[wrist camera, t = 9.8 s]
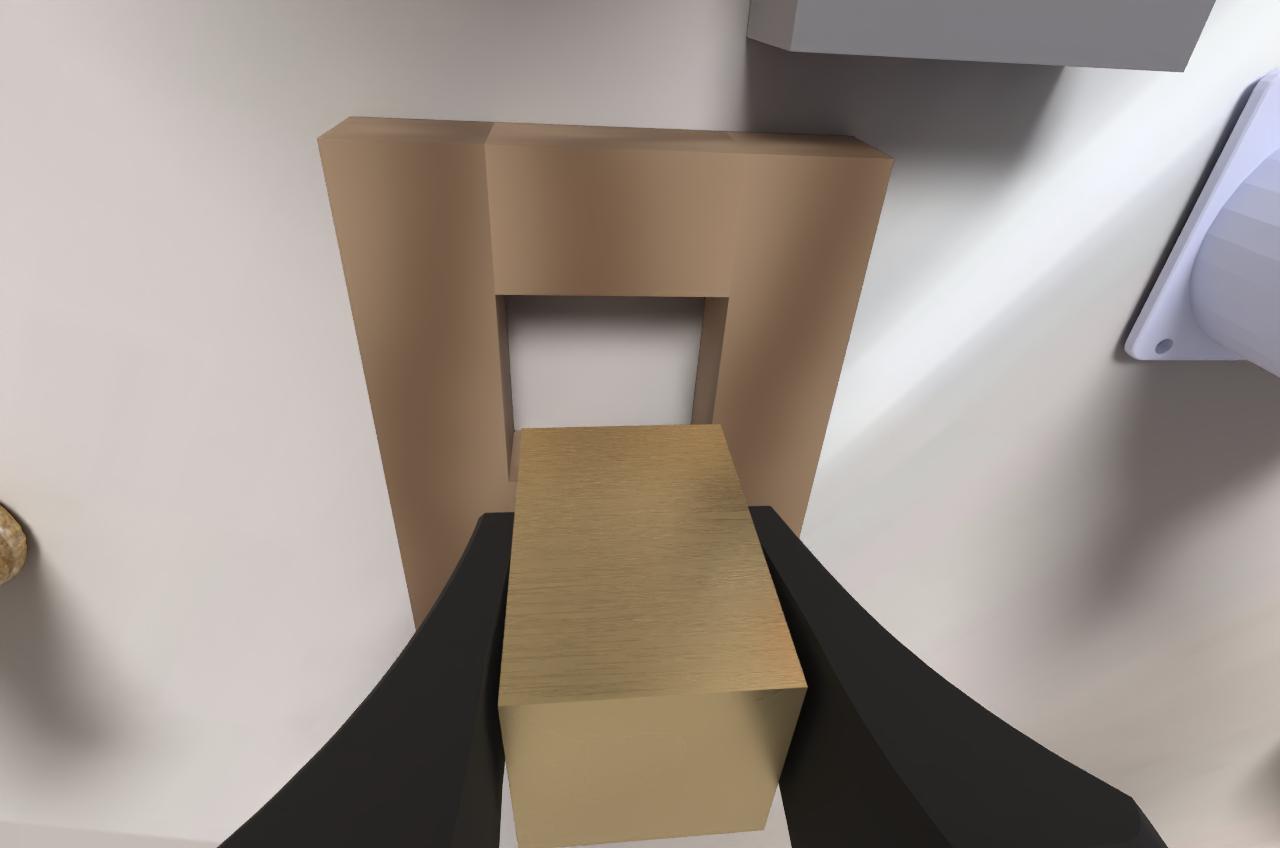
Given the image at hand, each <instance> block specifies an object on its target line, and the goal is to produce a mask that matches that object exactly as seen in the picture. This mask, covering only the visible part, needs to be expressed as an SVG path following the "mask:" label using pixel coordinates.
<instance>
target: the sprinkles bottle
mask: <svg viewBox="0 0 1280 848" xmlns="http://www.w3.org/2000/svg"><path fill="white" fill-rule="evenodd" d="M26 550H27V545H26V536H25V534H24V533H23V532H22V529H21V527H20V525H19V524H18V523H17V522H16V521H15V519H14V518H13V517H12V516H11V515H10V514H9V513H8V512H7V511H6V510H5V509H4V508H3V507H2V506H0V586H1V585H2V584H3V583H5V582H7V581H10V580H11V579H12V578H13V577H15V576H16V575H17V574H18V573H19V571H20V570H21V568H22V566H23V565H24V563H25V560H26V556H27V552H26Z"/></svg>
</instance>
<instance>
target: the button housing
mask: <svg viewBox="0 0 1280 848" xmlns="http://www.w3.org/2000/svg"><path fill="white" fill-rule="evenodd" d="M1215 1H1216V0H751V3H750V11H749V19H748V28H747V36H746V37H748V38H751V39H754V40H757V41H760V42H763V43H766V44H769V45H772V46H775V47H778V48H781V49H784V50H787V51H793V52H811V53H830V54H849V55H868V56H887V57H906V58H924V59H943V60H962V61H981V62H1000V63H1019V64H1038V65H1056V66H1075V67H1094V68H1113V69H1132V70H1151V71H1169V72H1184V70H1185V68H1186V66H1187V63H1188V61H1189V59H1190V57H1191V55H1192V52H1193V50H1194V48H1195V46H1196V43H1197V41H1198V39H1199V37H1200V34H1201V32H1202V30H1203V28H1204V26H1205V23H1206V21H1207V19H1208V17H1209V14H1210V12H1211V10H1212V8H1213V5H1214V3H1215Z"/></svg>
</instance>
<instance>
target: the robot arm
mask: <svg viewBox="0 0 1280 848" xmlns="http://www.w3.org/2000/svg"><path fill="white" fill-rule="evenodd" d="M1161 341H1162V342H1161ZM1159 342H1161V343H1160V344H1159V345H1158V343H1159ZM1157 345H1158V346H1157ZM1125 352H1126V353H1127V354H1128V355H1130V356H1131V357H1133V358H1134V359H1137V360H1249V361H1251V362H1252V363H1254V364H1256V365H1258V366H1260V367H1261V368H1263V369H1265V370H1267V371H1269V372H1270V373H1272V374H1274V375H1276V376H1277V377H1279V378H1280V68H1276V69H1274V70H1272V71H1270V72H1269V73H1267V74H1266V75H1265V76H1264V77H1263V78H1262V79H1261V80H1260V81H1259V82H1258V84H1257V85H1256V87H1255V88H1254V90H1253V92H1252V94H1251V96H1250V98H1249V100H1248V102H1247V104H1246V106H1245V108H1244V110H1243V112H1242V114H1241V116H1240V117H1239V119H1238V121H1237V123H1236V125H1235V127H1234V129H1233V131H1232V133H1231V135H1230V137H1229V139H1228V141H1227V143H1226V145H1225V147H1224V149H1223V151H1222V153H1221V155H1220V157H1219V159H1218V161H1217V163H1216V165H1215V167H1214V169H1213V171H1212V173H1211V175H1210V177H1209V179H1208V181H1207V183H1206V185H1205V187H1204V189H1203V190H1202V192H1201V194H1200V196H1199V198H1198V200H1197V202H1196V204H1195V206H1194V208H1193V210H1192V212H1191V214H1190V216H1189V218H1188V220H1187V222H1186V224H1185V226H1184V228H1183V230H1182V232H1181V234H1180V236H1179V238H1178V240H1177V242H1176V244H1175V246H1174V248H1173V250H1172V252H1171V254H1170V256H1169V258H1168V260H1167V262H1166V264H1165V265H1164V267H1163V269H1162V271H1161V273H1160V275H1159V277H1158V279H1157V281H1156V283H1155V285H1154V287H1153V289H1152V291H1151V293H1150V295H1149V297H1148V299H1147V301H1146V303H1145V305H1144V307H1143V309H1142V311H1141V313H1140V315H1139V317H1138V319H1137V321H1136V323H1135V325H1134V327H1133V329H1132V331H1131V333H1130V335H1129V337H1128V338H1127V340H1126V343H1125ZM748 509H749V512H750V515H751V518H752V521H753V524H754V527H755V530H756V533H757V536H758V539H759V542H760V545H761V548H762V551H763V554H764V557H765V560H766V563H767V566H768V569H769V572H770V575H771V578H772V581H773V584H774V587H775V590H776V593H777V596H778V599H779V602H780V605H781V608H782V611H783V614H784V617H785V620H786V623H787V626H788V629H789V632H790V635H791V638H792V641H793V644H794V647H795V650H796V653H797V656H798V659H799V662H800V665H801V668H802V671H803V674H804V677H805V680H806V683H807V686H808V688H807V691H806V694H805V698H804V701H803V704H802V707H801V710H800V714H799V717H798V720H797V723H796V727H795V730H794V733H793V736H792V740H791V743H790V746H789V749H788V753H787V756H786V759H785V762H784V766H783V769H782V772H781V775H780V779H779V787H780V792H781V796H782V801H783V806H784V811H785V815H786V820H787V825H788V830H789V835H790V841H791V846H792V848H1168V847H1167V846H1166V844H1165V843H1164V841H1163V840H1162V838H1161V837H1160V835H1159V834H1158V832H1157V831H1156V830H1155V828H1154V827H1153V825H1152V824H1151V823H1150V821H1149V820H1148V818H1147V817H1146V816H1145V814H1144V813H1143V812H1142V810H1141V809H1140V808H1139V806H1138V805H1137V804H1136V803H1135V801H1134V800H1133V798H1132V797H1130V796H1128V795H1127V794H1125V793H1123V792H1121V791H1119V790H1118V789H1116V788H1114V787H1112V786H1111V785H1109V784H1107V783H1105V782H1104V781H1102V780H1100V779H1098V778H1096V777H1095V776H1093V775H1091V774H1089V773H1088V772H1086V771H1084V770H1082V769H1081V768H1079V767H1077V766H1075V765H1074V764H1072V763H1070V762H1068V761H1066V760H1065V759H1063V758H1061V757H1059V756H1058V755H1056V754H1055V753H1053V752H1051V751H1050V750H1048V749H1046V748H1045V747H1043V746H1042V745H1040V744H1039V743H1037V742H1035V741H1034V740H1032V739H1031V738H1029V737H1028V736H1026V735H1024V734H1023V733H1021V732H1020V731H1018V730H1017V729H1015V728H1013V727H1012V726H1010V725H1009V724H1007V723H1006V722H1004V721H1003V720H1001V719H1000V718H999V717H997V716H996V715H994V714H993V713H991V712H990V711H988V710H987V709H985V708H984V707H982V706H981V705H980V704H978V703H977V702H976V701H974V700H973V699H972V698H970V697H969V696H967V695H966V694H965V693H963V692H962V691H961V690H959V689H958V688H956V687H955V686H954V685H952V684H951V683H950V682H948V681H947V680H946V679H944V678H943V677H942V676H941V675H939V674H938V673H937V672H935V671H934V670H933V669H932V668H930V667H929V666H928V665H927V664H925V663H924V662H923V661H922V660H921V659H919V658H918V657H917V656H916V655H915V654H913V653H912V652H911V651H910V650H909V649H908V648H906V647H905V646H904V645H903V644H902V643H900V642H899V641H898V640H897V639H896V638H895V637H894V636H892V635H891V634H890V633H889V632H888V631H887V630H886V629H885V628H884V627H882V626H881V625H880V624H879V623H878V622H877V621H876V620H875V619H874V618H873V617H872V616H871V615H870V614H869V613H868V612H867V611H866V610H865V609H864V608H863V607H862V606H861V605H860V604H859V603H858V602H857V601H856V600H855V599H854V598H853V597H852V596H851V595H850V594H849V593H848V592H847V591H846V590H845V589H844V588H843V587H842V586H841V585H840V584H839V582H838V581H837V580H836V579H835V578H834V577H833V576H832V575H831V574H830V573H829V572H828V571H827V570H826V569H825V567H824V566H823V565H822V564H821V563H820V562H819V561H818V560H817V559H816V557H815V556H814V555H813V554H812V553H811V552H810V551H809V549H808V548H807V547H806V546H805V545H804V544H803V543H802V541H801V540H800V539H799V538H798V537H797V536H796V534H795V533H794V532H793V531H792V530H791V529H790V527H789V526H788V525H787V524H786V523H785V521H784V520H783V519H782V518H781V517H780V516H779V514H778V513H777V512H776V511H775V510H774V509H773V508H772V507H771V506H748ZM514 515H515V512H494V513H484V514H483V515H482V516H480V517H479V519H478V521H477V524H476V527H475V529H474V531H473V534H472V536H471V538H470V540H469V542H468V544H467V546H466V548H465V550H464V553H463V554H462V556H461V558H460V560H459V562H458V564H457V566H456V568H455V570H454V571H453V573H452V575H451V576H450V578H449V580H448V582H447V583H446V585H445V587H444V588H443V590H442V592H441V594H440V595H439V597H438V599H437V600H436V602H435V604H434V605H433V607H432V608H431V610H430V611H429V613H428V614H427V616H426V617H425V619H424V620H423V622H422V623H421V625H420V626H419V628H418V629H417V631H416V632H415V634H414V635H413V637H412V638H411V640H410V641H409V643H408V644H407V646H406V647H405V648H404V650H403V651H402V653H401V654H400V655H399V657H398V658H397V659H396V661H395V662H394V663H393V665H392V666H391V667H390V669H389V670H388V671H387V673H386V674H385V675H384V676H383V678H382V679H381V680H380V681H379V683H378V684H377V685H376V686H375V688H374V689H373V690H372V691H371V693H370V694H369V695H368V696H367V698H366V699H365V700H364V701H363V702H362V703H361V704H360V706H359V707H358V708H357V709H356V710H355V711H354V713H353V714H352V715H351V716H350V717H349V718H348V720H347V721H346V722H345V723H344V724H343V725H342V727H341V728H340V729H339V730H338V731H337V732H336V733H335V734H334V735H333V736H332V738H331V739H330V740H329V741H328V742H327V743H326V744H325V745H324V746H323V747H322V748H321V749H320V750H319V751H318V752H317V753H316V754H315V755H314V756H313V757H312V758H311V759H310V760H309V761H308V762H307V763H306V764H305V765H304V766H303V767H302V768H301V769H300V770H299V771H298V772H297V773H296V775H295V776H294V777H293V778H292V779H291V780H290V781H289V782H288V783H287V784H286V785H285V786H284V787H283V788H282V789H281V790H280V791H279V792H278V793H277V794H276V795H275V796H274V797H273V798H272V799H270V800H269V801H268V802H267V803H266V804H265V805H264V806H263V807H262V808H261V809H260V810H259V811H258V812H257V813H256V814H254V815H253V816H252V817H251V818H250V819H249V820H248V821H247V822H245V823H244V824H243V825H242V826H241V827H240V828H239V829H238V830H236V831H235V832H234V833H233V834H232V835H231V836H230V837H229V838H227V839H226V840H225V841H224V842H223V843H222V844H221V845H220V846H219V847H217V848H499V840H500V821H501V803H502V785H503V775H504V766H505V753H504V746H503V739H502V732H501V726H500V719H499V712H498V697H499V686H500V675H501V663H502V652H503V640H504V629H505V618H506V606H507V595H508V584H509V572H510V561H511V549H512V538H513V527H514Z"/></svg>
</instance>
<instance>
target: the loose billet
mask: <svg viewBox="0 0 1280 848" xmlns="http://www.w3.org/2000/svg"><path fill="white" fill-rule="evenodd" d="M807 688H808V686H807V683H806V680H805V677H804V674H803V671H802V668H801V665H800V662H799V659H798V656H797V653H796V650H795V647H794V644H793V641H792V638H791V635H790V632H789V629H788V626H787V623H786V620H785V617H784V614H783V611H782V608H781V605H780V602H779V599H778V596H777V593H776V590H775V587H774V584H773V581H772V578H771V575H770V572H769V569H768V566H767V563H766V560H765V557H764V554H763V551H762V548H761V545H760V542H759V539H758V536H757V533H756V530H755V527H754V524H753V521H752V518H751V515H750V512H749V509H748V506H747V503H746V500H745V497H744V494H743V491H742V488H741V485H740V482H739V479H738V476H737V473H736V470H735V467H734V464H733V461H732V458H731V455H730V452H729V449H728V446H727V443H726V440H725V437H724V434H723V431H722V428H721V425H720V424H699V425H655V426H611V427H566V428H522V436H521V447H520V458H519V470H518V481H517V493H516V504H515V515H514V527H513V538H512V549H511V561H510V572H509V584H508V595H507V606H506V618H505V629H504V640H503V652H502V663H501V675H500V686H499V697H498V712H499V719H500V726H501V732H502V739H503V746H504V753H505V760H506V766H507V773H508V780H509V787H510V794H511V801H512V807H513V814H514V821H515V828H516V835H517V841H518V848H555V847H567V846H579V845H591V844H603V843H615V842H627V841H639V840H651V839H663V838H675V837H687V836H698V835H710V834H722V833H734V832H746V831H758V830H764V827H765V824H766V821H767V817H768V814H769V811H770V808H771V804H772V801H773V798H774V795H775V792H776V788H777V785H778V782H779V779H780V775H781V772H782V769H783V766H784V762H785V759H786V756H787V753H788V749H789V746H790V743H791V740H792V736H793V733H794V730H795V727H796V723H797V720H798V717H799V714H800V710H801V707H802V704H803V701H804V698H805V694H806V691H807Z"/></svg>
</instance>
